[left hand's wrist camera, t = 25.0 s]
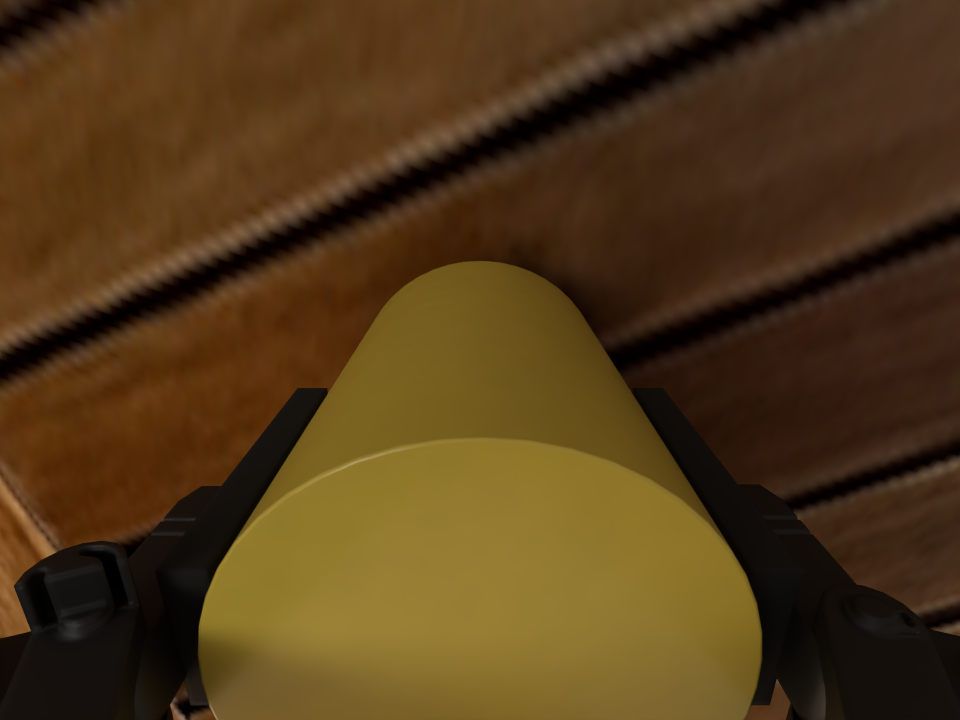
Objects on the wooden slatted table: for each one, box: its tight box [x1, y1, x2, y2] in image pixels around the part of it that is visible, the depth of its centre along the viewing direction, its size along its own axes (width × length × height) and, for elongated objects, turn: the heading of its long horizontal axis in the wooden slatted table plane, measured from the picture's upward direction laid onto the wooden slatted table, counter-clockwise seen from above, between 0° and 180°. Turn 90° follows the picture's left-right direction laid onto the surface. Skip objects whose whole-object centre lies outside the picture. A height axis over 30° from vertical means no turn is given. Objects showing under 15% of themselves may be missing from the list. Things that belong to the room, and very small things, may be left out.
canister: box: [198, 261, 762, 720], centre depth 13 cm, size 8×8×11 cm
